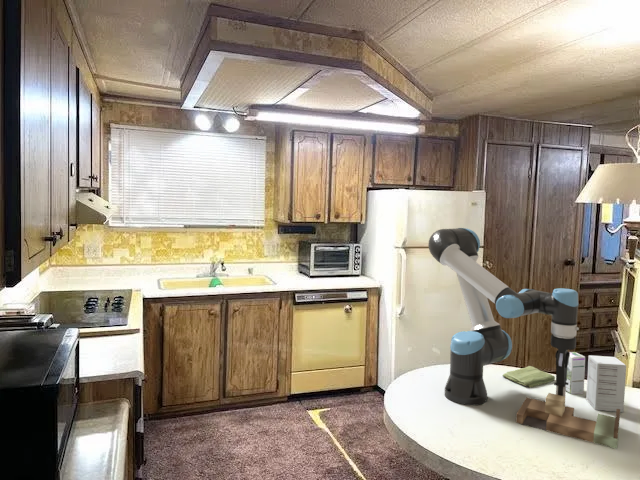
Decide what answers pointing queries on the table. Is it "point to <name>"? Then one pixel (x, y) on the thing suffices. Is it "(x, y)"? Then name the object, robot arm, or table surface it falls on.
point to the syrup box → (575, 373)
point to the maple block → (555, 404)
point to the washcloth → (529, 376)
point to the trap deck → (570, 423)
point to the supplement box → (606, 383)
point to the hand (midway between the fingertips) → (560, 403)
